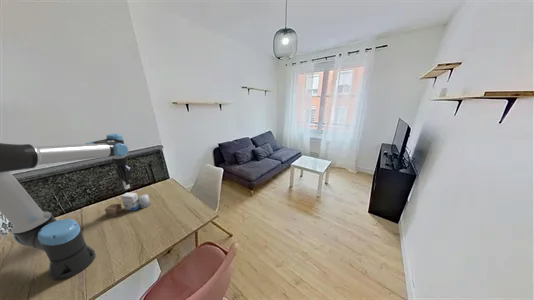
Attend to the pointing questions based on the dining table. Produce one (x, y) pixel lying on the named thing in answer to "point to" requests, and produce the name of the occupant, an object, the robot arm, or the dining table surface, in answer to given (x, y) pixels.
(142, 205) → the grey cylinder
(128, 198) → the ink box
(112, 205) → the walnut block
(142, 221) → the dining table surface
